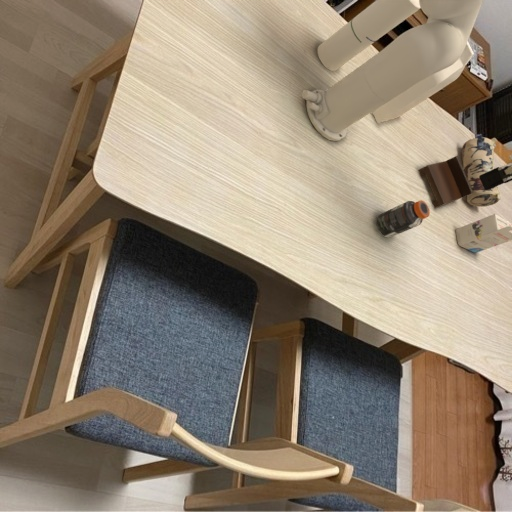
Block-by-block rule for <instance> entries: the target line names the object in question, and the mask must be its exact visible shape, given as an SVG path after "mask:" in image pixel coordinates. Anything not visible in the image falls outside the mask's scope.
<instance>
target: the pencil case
mask: <svg viewBox="0 0 512 512" xmlns="http://www.w3.org/2000/svg"><path fill="white" fill-rule="evenodd" d="M497 142H498V139H497V138H496V137H492V138H491V139H490V138H488V137H485V136H484V137H483V134H482V133H478V134H474V138H470V139H468V140H466V142H464V143H463V145H462V147H461V152H462V153H461V159H462V167H463V170H464V172H465V174H466V177H467V179H468V181H469V183H470V186H471V188H472V190H473V193H472V194H470V195H467V196H466V203H467V204H469V205H471V206H474V207H481V208H482V207H490V206H493V205H496V204H497V203H498V202H500V201H501V191H500V190H499V188H498V187H499V186H496V187H494V188H492V189H489V190H485V189H484V187H483V185H482V182H481V180H480V178H479V176H480V175H482V174H484V173H486V172H488V171H491V170H493V169H495V168H496V167H495V160H494V159H495V157H494V156H495V155H494V153H495V152H494V151H495V149H496V147H497V144H496V143H497Z"/></svg>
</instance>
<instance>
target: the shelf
mask: <svg viewBox="0 0 512 512" xmlns="http://www.w3.org/2000/svg"><path fill="white" fill-rule="evenodd" d="M418 173H419V175H420V176H425V177H426V179H427V181H428V184H429V186H430V188H431V190H432V193H433V195H434V198H435V201H433V202H432V206H433V208H434V209H436V208H439V207H441V206H444V205H447V204H450V203H453V202H456V201H458V200H460V199H463V198H466V197H467V196H468V195H470V194H472V193H473V190H472V188H471V186H470V183H469V181H468V179H467V177H466V174H465V172H464V168H463V164H462V163H461V161H460V158H459V156H458V155H455V156H453V157H451V158H449V159H447V160H445V161H440V162H436V163H432V164H428V165H425V166H423V167H422V168H419V169H418Z"/></svg>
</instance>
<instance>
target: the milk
mask: <svg viewBox="0 0 512 512" xmlns="http://www.w3.org/2000/svg"><path fill="white" fill-rule="evenodd" d="M474 55H475V53H474V51H473V49H472V47H471V44H470V41H468V42H467V44H466V46H465V49H464V51H463V53H462V55H461V56H460V58H459V59H458V60H457V61H456V62H455V63H454V64H453V65H451V66H449V67H447V68H445V69H443V70H441V71H439V72H437V73H434V74H432V75H430V76H428V77H427V78H425V79H423V80H421V81H420V82H418V83H416V84H415V85H413V86H412V87H410V88H409V89H407V90H406V91H404V92H403V93H401V94H400V95H398V96H396V97H395V98H393V99H392V100H390V101H389V102H387V103H386V104H384V105H382V106H381V107H379V108H378V109H376V110H374V111H373V112H371V114H372V115H373V117H374V119H375V121H376V123H377V124H382V123H384V122H387V121H391V120H394V119H397V118H400V117H401V116H403V115H405V114H406V113H407V112H409V111H410V110H412V109H414V108H415V107H417V106H418V105H419V104H421V103H422V102H424V101H426V100H427V99H429V98H431V97H432V96H433V95H435V94H437V93H438V92H439V91H441V90H442V89H444V88H446V87H447V86H449V85H450V84H452V83H453V82H455V81H456V80H457V79H458V78H459V77H460V76H461V74H462V73H463V71H464V69H465V67H466V66H467V64H468V63H469V62H470V60H471V59H472V58H473V57H474Z"/></svg>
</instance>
